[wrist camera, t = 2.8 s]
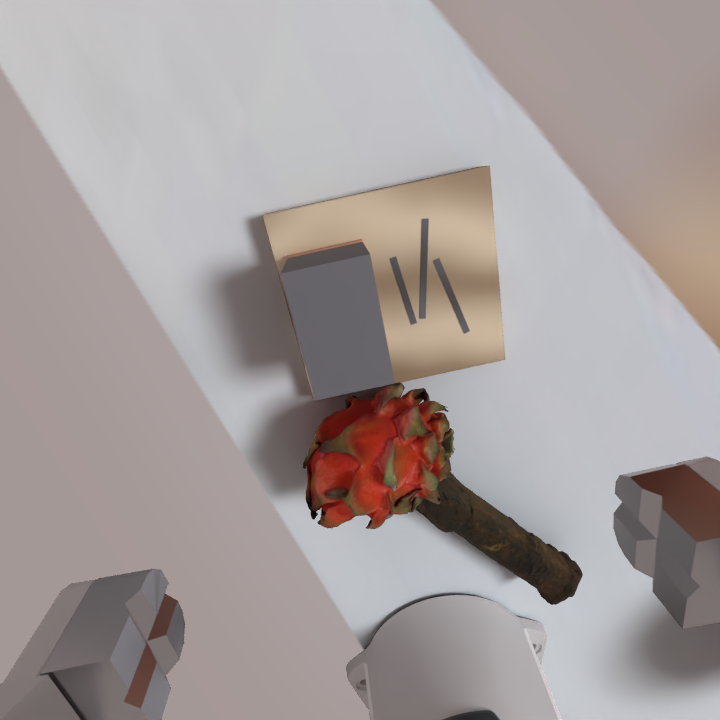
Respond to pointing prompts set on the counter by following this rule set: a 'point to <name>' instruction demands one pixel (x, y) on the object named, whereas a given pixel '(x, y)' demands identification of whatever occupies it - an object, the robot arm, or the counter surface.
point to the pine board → (416, 265)
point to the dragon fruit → (378, 457)
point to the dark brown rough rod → (503, 540)
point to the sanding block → (338, 319)
